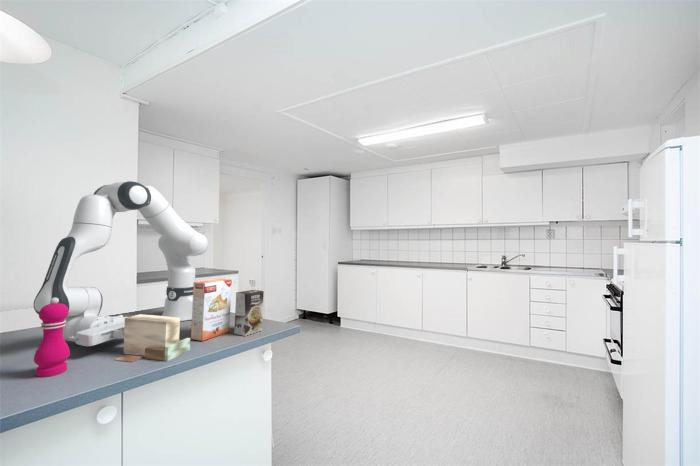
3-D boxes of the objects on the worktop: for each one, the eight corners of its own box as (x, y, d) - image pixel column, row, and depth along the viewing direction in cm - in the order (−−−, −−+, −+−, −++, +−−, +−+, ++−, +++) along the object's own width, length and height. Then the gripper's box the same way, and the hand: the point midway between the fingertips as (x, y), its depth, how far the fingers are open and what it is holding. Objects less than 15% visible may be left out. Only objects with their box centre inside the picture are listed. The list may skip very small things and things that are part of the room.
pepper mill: (67, 374, 89) (70, 298, 89) (30, 380, 84) (33, 301, 85) (70, 365, 94) (73, 294, 95) (35, 370, 90) (38, 296, 91)
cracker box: (202, 342, 118) (205, 282, 118) (190, 339, 120) (192, 281, 121) (230, 332, 131) (232, 278, 131) (218, 330, 133) (220, 277, 134)
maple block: (139, 347, 111) (140, 314, 111) (178, 351, 108) (179, 317, 108) (123, 353, 105) (124, 318, 105) (164, 358, 102) (166, 322, 102)
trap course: (143, 341, 117) (144, 329, 117) (196, 346, 113) (197, 334, 113) (98, 358, 100) (98, 344, 100) (158, 365, 96) (159, 351, 96)
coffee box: (245, 336, 126) (247, 293, 126) (233, 333, 129) (235, 291, 129) (263, 331, 134) (264, 290, 134) (251, 328, 137) (252, 289, 137)
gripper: (64, 328, 101) (102, 332, 98) (123, 313, 121) (156, 316, 118) (63, 349, 101) (102, 353, 98) (122, 331, 121) (155, 334, 118)
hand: (132, 333), depth 108 cm, fingers closed, pressing on maple block
